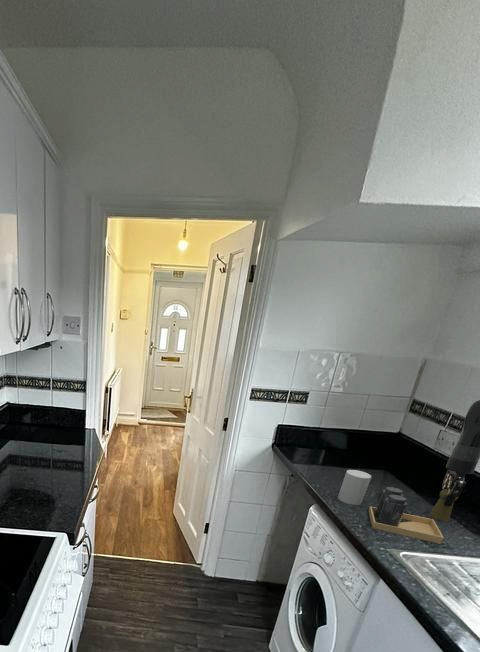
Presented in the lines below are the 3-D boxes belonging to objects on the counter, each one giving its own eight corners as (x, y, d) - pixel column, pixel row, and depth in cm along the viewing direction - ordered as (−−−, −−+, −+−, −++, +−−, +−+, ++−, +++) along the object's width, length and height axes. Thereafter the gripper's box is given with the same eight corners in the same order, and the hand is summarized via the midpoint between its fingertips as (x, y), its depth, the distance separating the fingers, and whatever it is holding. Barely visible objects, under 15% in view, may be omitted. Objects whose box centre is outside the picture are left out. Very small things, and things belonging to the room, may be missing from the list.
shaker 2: (395, 525, 142) (407, 496, 137) (398, 532, 137) (410, 502, 132) (375, 521, 144) (386, 492, 140) (377, 528, 139) (388, 498, 135)
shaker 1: (392, 516, 148) (403, 488, 144) (394, 523, 143) (406, 494, 139) (373, 512, 151) (383, 485, 146) (374, 519, 146) (385, 490, 141)
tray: (430, 525, 144) (433, 519, 143) (440, 544, 132) (444, 537, 131) (367, 512, 152) (369, 506, 151) (371, 529, 139) (373, 522, 138)
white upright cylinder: (365, 507, 157) (376, 478, 152) (346, 507, 155) (357, 478, 150) (350, 497, 164) (360, 469, 159) (332, 498, 162) (341, 469, 157)
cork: (428, 512, 154) (440, 485, 150) (448, 517, 151) (461, 490, 147) (428, 518, 150) (441, 490, 145) (449, 523, 147) (462, 495, 142)
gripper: (485, 465, 134) (463, 512, 140) (472, 454, 146) (452, 498, 152) (456, 461, 137) (436, 507, 143) (445, 450, 149) (428, 493, 155)
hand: (445, 502), depth 148 cm, fingers closed on cork, 5 cm apart
